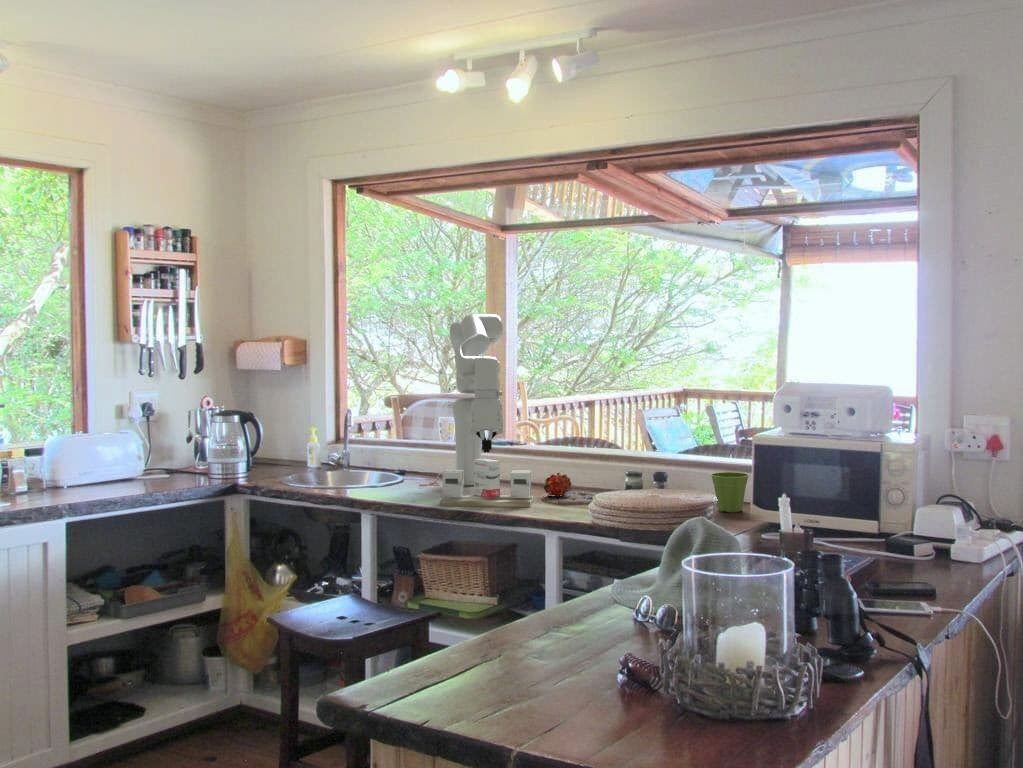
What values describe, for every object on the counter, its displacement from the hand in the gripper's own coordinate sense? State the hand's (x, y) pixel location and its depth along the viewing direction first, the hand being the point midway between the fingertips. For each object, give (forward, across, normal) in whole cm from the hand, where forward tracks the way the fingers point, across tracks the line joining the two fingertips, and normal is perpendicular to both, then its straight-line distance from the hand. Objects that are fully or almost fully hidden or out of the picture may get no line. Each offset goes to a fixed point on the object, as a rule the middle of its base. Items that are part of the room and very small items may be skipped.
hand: (486, 452), depth 311 cm
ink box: (+14, 0, -1) cm, 15 cm away
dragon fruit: (+17, -22, -15) cm, 32 cm away
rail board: (+17, 0, 0) cm, 17 cm away
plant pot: (+17, -76, +9) cm, 78 cm away
